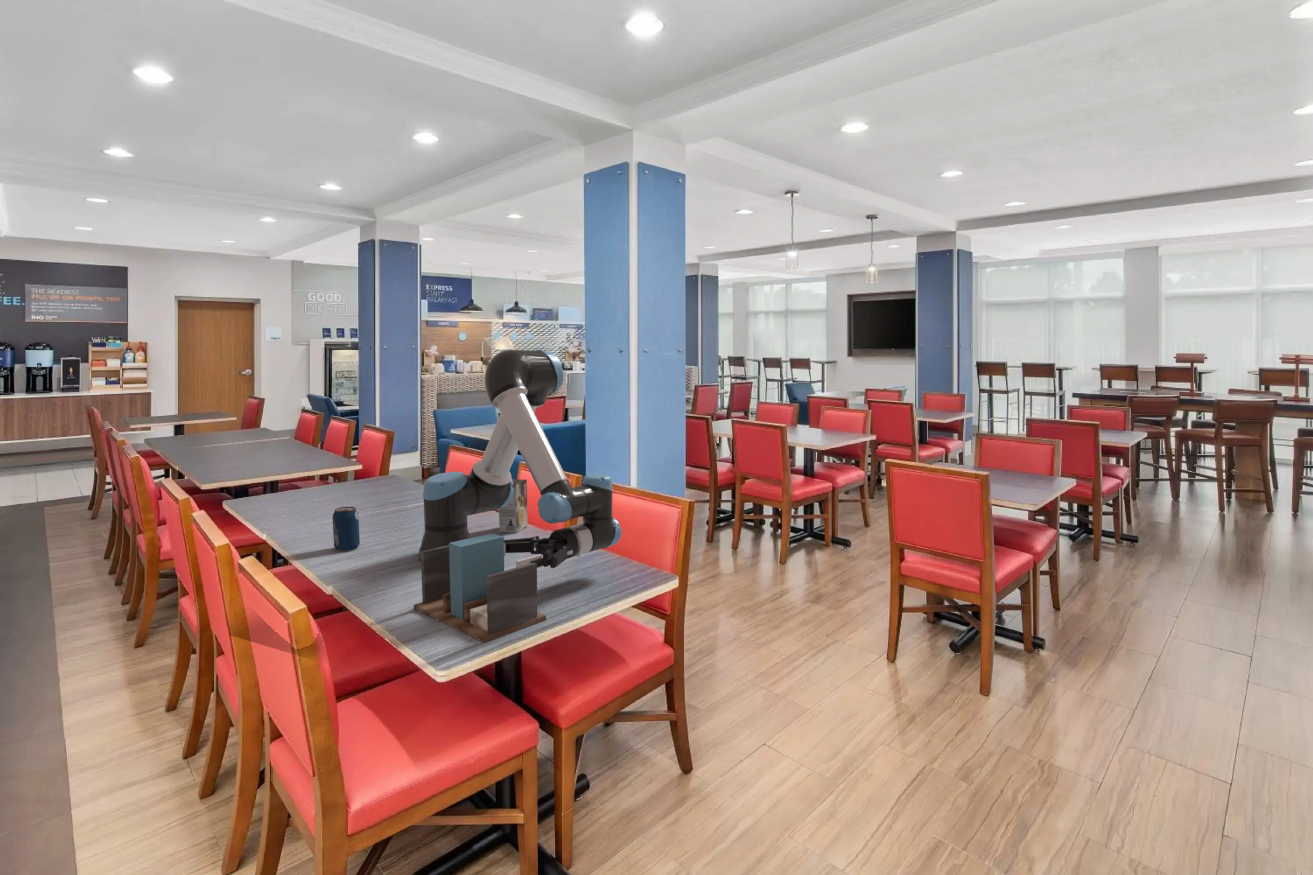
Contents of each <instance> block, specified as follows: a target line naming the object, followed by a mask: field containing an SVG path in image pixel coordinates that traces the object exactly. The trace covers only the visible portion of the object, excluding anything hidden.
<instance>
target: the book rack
mask: <svg viewBox="0 0 1313 875" xmlns="http://www.w3.org/2000/svg"><path fill="white" fill-rule="evenodd" d="M420 561H421V562H420V564H421V565H420V567H421V568H420V569H421V596H422V597H421V598H422V599H421V600H422V601H421V602H418V603H415V604H413V609H414V608H415V609H417V610H419V611H421V612H423V613H425V614H427V615H426V616H428V615H429V616H428V617H430V616H431V617H430V618H432V617H433V618H432V619H434V618H436V619H438V620H439V621H438V620H437V621H438V622H440V621H441V622H440V623H442V622H444V623H446V624H447V625H446V624H445V625H446V626H448V625H450V626H449V627H451V626H452V627H451V628H453V627H454V628H453V629H455V630H457V629H458V630H457V631H459V630H460V631H459V632H461V631H462V632H461V633H463V632H464V633H463V634H465V633H466V634H465V635H467V634H468V636H469V635H470V637H471V636H473V637H475V638H474V639H475V640H478V639H479V640H478V641H480V642H481V643H482V642H483V643H486V642H490V641H493V640H494V639H497V638H500V636H501V637H503V636H505V634H506V635H508V633H509V634H511V633H514V632H517V631H519V629H520V630H523V629H525V628H528V627H531V626H532V625H536V624H538V623H541V622H544V621H546V620H547V616H546V614H543V613H541V612H539V611H538V568H537V564H536V563H530V564H527V565H523V566H520V567H516V566H515V567H513V568H510V569H505V570H504V571H502V572H498V573H495V574H491V575H488V576H486V578H487V597H484V598H481V599H477V600H474V601H471V602H468V603H464V619H460V618H458V617H456V616H454V615H452V614H451V596H450V560H449V545H447V546H443V547H439V548H434V549H430V550H426V551H421V560H420ZM415 609H414V610H415ZM417 610H416V611H417ZM419 611H418V612H419ZM421 612H420V613H421ZM423 613H422V614H423ZM425 614H424V615H425ZM436 619H435V620H436ZM444 623H443V624H444ZM516 630H517V631H516ZM473 637H472V638H473Z"/></svg>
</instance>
